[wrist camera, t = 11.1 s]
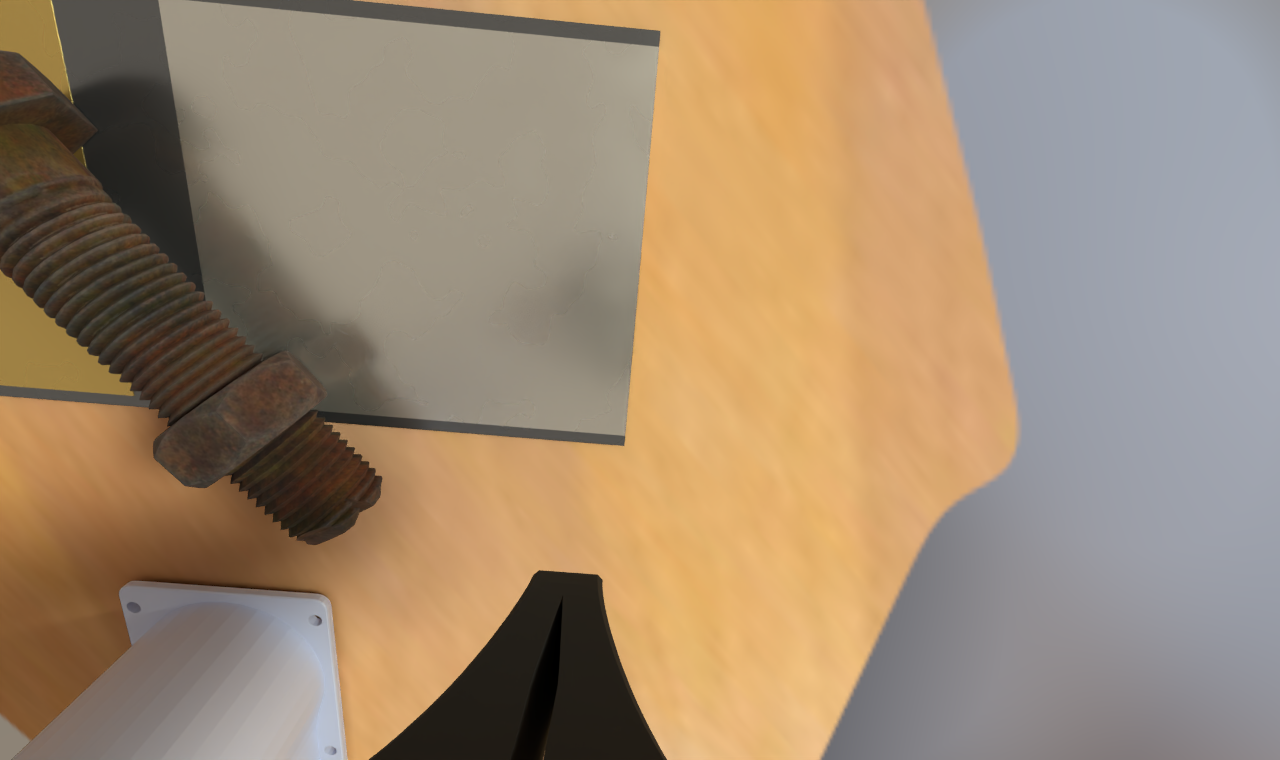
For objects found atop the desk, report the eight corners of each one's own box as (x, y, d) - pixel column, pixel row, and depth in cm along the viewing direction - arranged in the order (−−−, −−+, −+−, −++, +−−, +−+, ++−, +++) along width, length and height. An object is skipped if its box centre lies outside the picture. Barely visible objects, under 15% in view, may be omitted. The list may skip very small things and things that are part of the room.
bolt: (378, 471, 24) (45, 130, 19) (444, 444, 20) (65, 26, 16) (251, 595, 19) (-214, 197, 15) (310, 585, 16) (-260, 74, 12)
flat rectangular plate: (624, 441, 22) (624, 445, 21) (-180, 377, 21) (-192, 380, 21) (659, 33, 17) (660, 30, 17) (-356, -68, 16) (-374, -72, 16)
